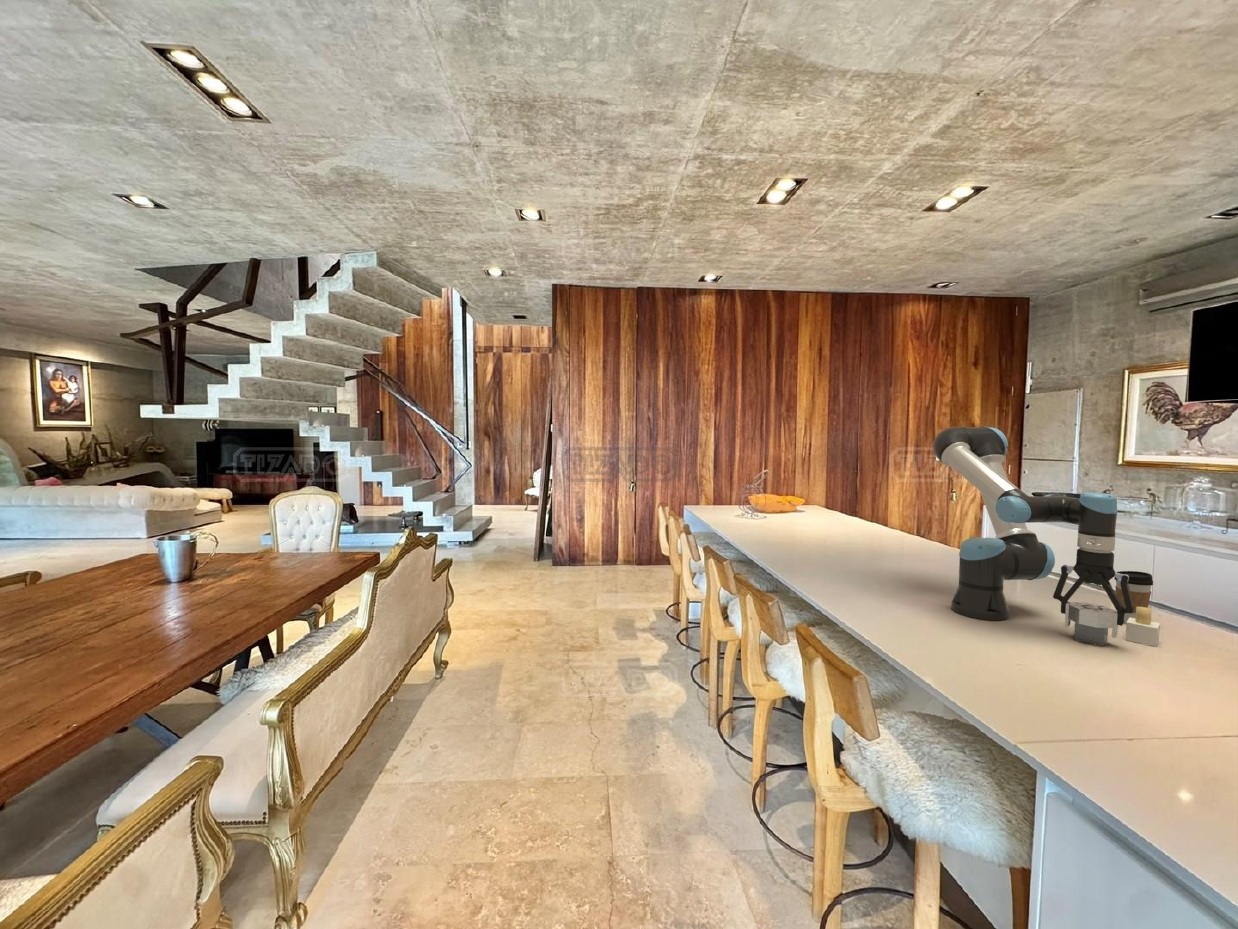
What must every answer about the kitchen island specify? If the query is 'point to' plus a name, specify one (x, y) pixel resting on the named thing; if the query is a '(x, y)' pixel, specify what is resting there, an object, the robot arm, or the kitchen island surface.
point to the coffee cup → (1135, 590)
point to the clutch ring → (1091, 615)
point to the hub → (1142, 628)
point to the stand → (1091, 633)
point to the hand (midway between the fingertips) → (1090, 630)
